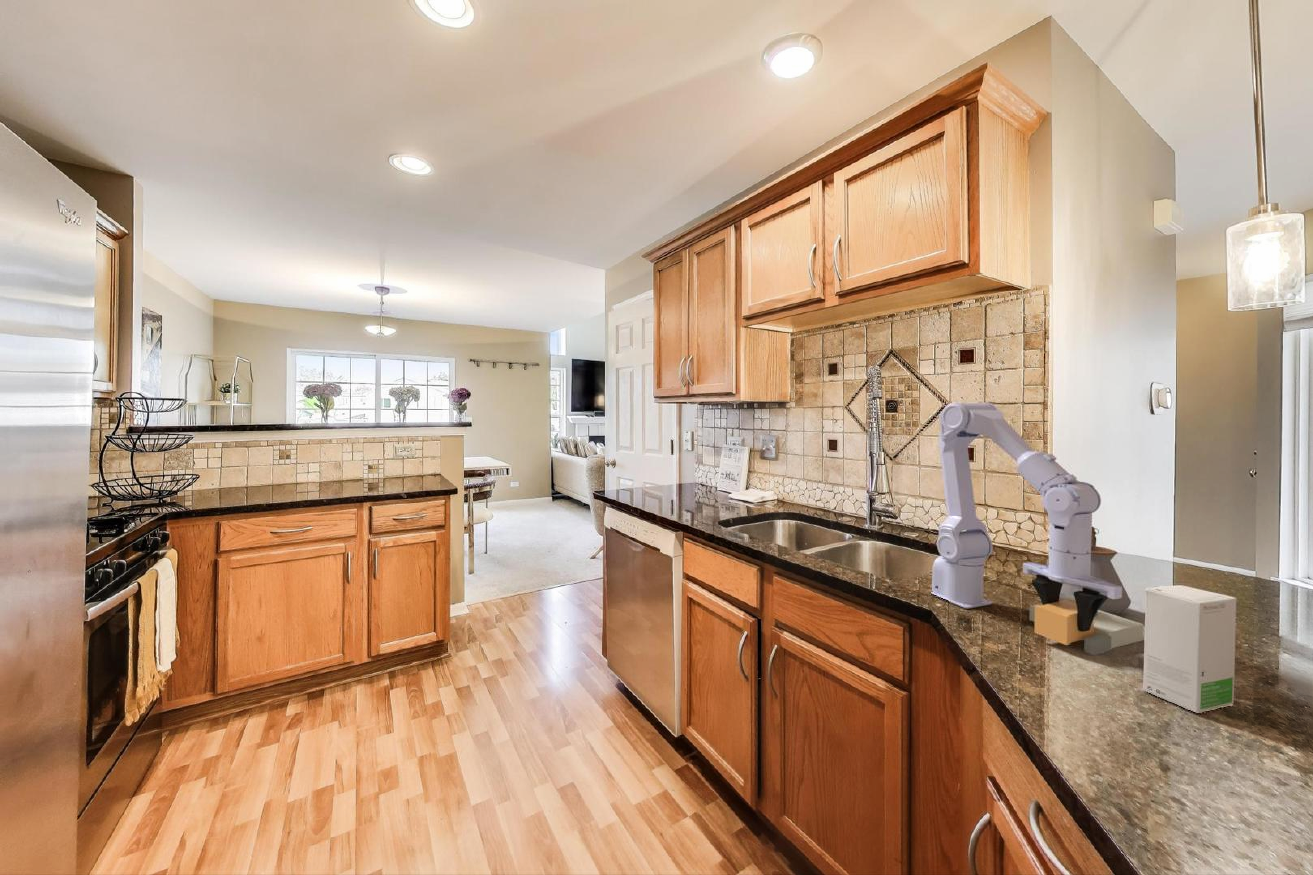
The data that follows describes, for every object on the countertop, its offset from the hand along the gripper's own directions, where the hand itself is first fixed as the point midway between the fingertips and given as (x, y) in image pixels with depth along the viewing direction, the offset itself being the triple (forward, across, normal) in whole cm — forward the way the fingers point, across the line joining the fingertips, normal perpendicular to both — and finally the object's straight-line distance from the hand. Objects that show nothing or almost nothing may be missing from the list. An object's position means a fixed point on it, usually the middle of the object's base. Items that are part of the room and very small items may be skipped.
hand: (1067, 624), depth 87 cm
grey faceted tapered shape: (+4, -11, +27) cm, 29 cm away
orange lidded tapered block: (+2, 0, 0) cm, 2 cm away
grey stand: (+3, -2, +7) cm, 8 cm away
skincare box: (+4, +17, -3) cm, 18 cm away
